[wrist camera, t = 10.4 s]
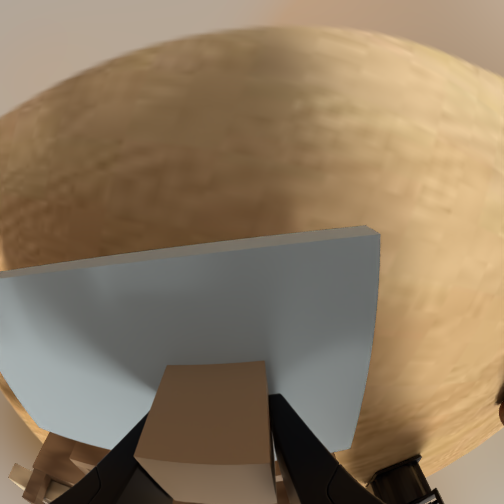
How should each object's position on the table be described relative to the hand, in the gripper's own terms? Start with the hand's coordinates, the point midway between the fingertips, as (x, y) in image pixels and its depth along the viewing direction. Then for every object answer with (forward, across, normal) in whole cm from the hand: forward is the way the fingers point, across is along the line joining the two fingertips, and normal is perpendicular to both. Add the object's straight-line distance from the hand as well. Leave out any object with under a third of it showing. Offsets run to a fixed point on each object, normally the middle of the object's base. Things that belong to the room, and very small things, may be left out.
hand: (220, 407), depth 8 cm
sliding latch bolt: (0, +19, +14) cm, 23 cm away
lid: (+2, +4, 0) cm, 4 cm away
